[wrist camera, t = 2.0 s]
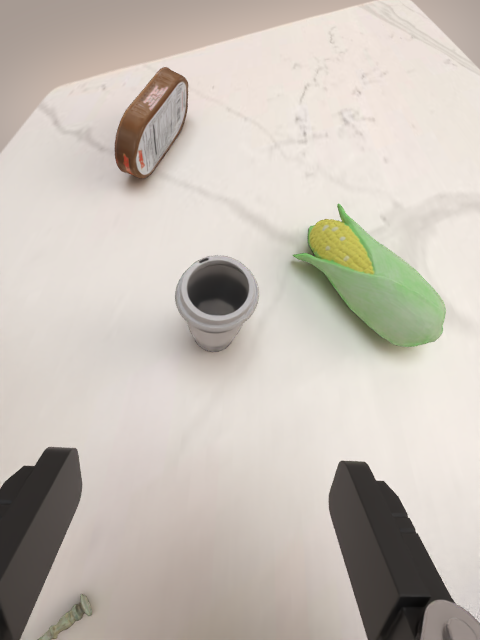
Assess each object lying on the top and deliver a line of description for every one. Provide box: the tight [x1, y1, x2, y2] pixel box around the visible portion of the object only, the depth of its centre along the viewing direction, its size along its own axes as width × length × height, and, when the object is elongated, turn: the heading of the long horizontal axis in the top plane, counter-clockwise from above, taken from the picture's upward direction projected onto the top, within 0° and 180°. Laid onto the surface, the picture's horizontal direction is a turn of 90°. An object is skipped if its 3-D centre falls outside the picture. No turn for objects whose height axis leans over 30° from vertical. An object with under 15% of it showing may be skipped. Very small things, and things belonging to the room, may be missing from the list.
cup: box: [175, 255, 259, 352], centre depth 32 cm, size 7×7×12 cm
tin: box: [115, 67, 188, 178], centre depth 42 cm, size 15×3×8 cm, turn 157°
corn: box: [293, 204, 446, 347], centre depth 38 cm, size 8×8×20 cm
